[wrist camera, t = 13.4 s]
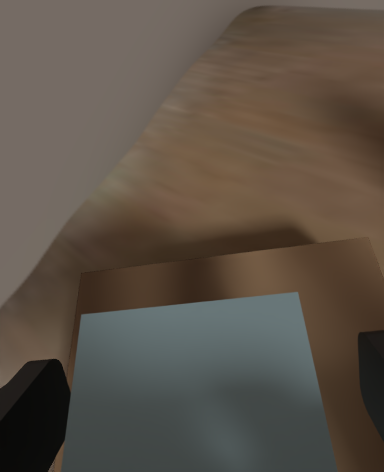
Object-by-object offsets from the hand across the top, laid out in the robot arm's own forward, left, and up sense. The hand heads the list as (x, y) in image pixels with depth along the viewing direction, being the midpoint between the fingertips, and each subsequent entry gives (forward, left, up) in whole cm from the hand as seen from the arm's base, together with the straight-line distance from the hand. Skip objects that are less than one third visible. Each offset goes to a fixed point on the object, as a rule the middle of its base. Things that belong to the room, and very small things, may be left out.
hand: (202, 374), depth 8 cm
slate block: (0, +1, -7) cm, 7 cm away
